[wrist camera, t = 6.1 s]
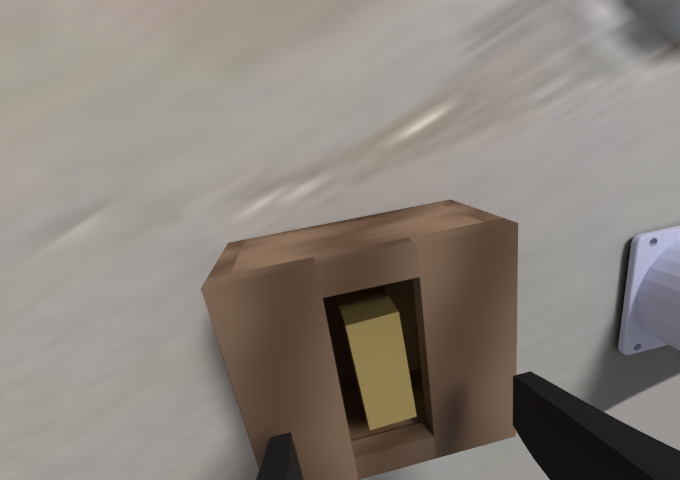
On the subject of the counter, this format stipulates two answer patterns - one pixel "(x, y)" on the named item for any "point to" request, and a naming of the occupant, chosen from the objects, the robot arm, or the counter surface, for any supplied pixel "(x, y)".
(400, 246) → the coin box
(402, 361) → the block
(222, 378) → the counter surface
